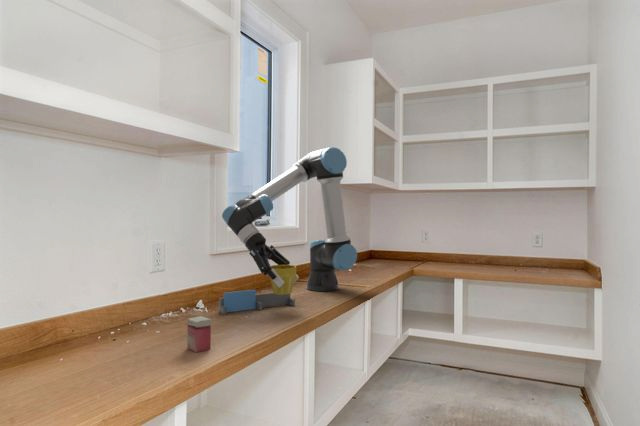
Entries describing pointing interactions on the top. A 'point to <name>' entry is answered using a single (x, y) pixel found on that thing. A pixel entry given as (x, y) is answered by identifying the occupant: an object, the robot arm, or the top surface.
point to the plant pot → (284, 278)
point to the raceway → (251, 301)
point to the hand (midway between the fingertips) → (289, 282)
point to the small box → (199, 334)
